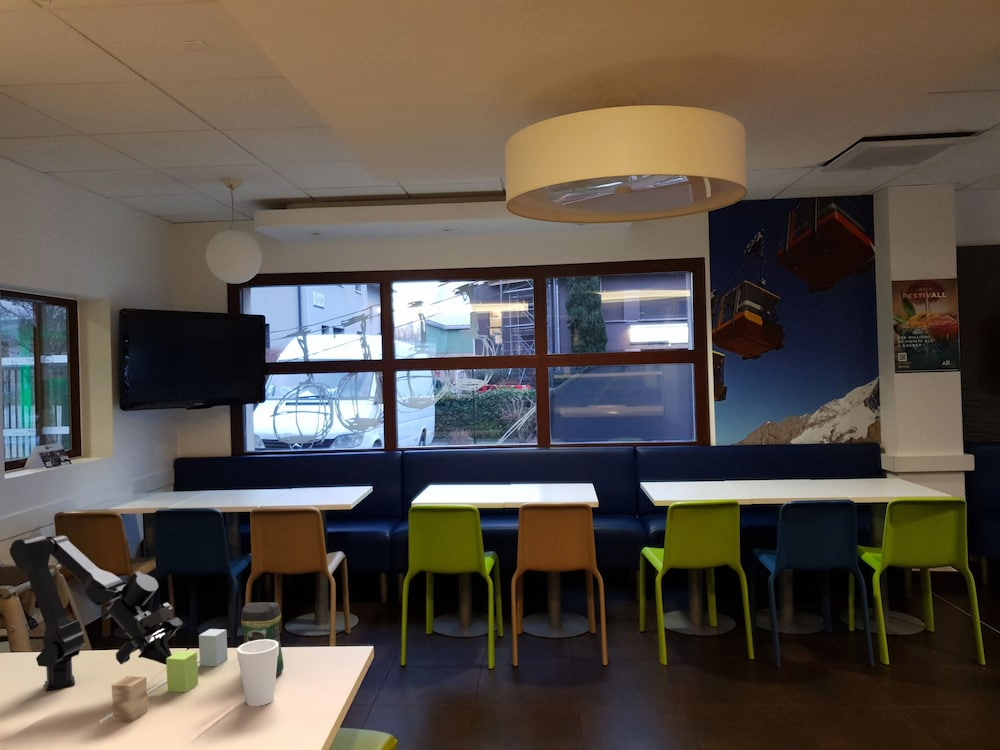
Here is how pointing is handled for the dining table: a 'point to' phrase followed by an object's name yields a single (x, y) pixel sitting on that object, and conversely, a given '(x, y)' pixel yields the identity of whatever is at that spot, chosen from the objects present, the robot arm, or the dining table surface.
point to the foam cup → (258, 670)
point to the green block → (182, 671)
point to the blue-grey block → (213, 647)
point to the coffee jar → (263, 625)
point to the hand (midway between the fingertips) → (172, 664)
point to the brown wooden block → (129, 698)
